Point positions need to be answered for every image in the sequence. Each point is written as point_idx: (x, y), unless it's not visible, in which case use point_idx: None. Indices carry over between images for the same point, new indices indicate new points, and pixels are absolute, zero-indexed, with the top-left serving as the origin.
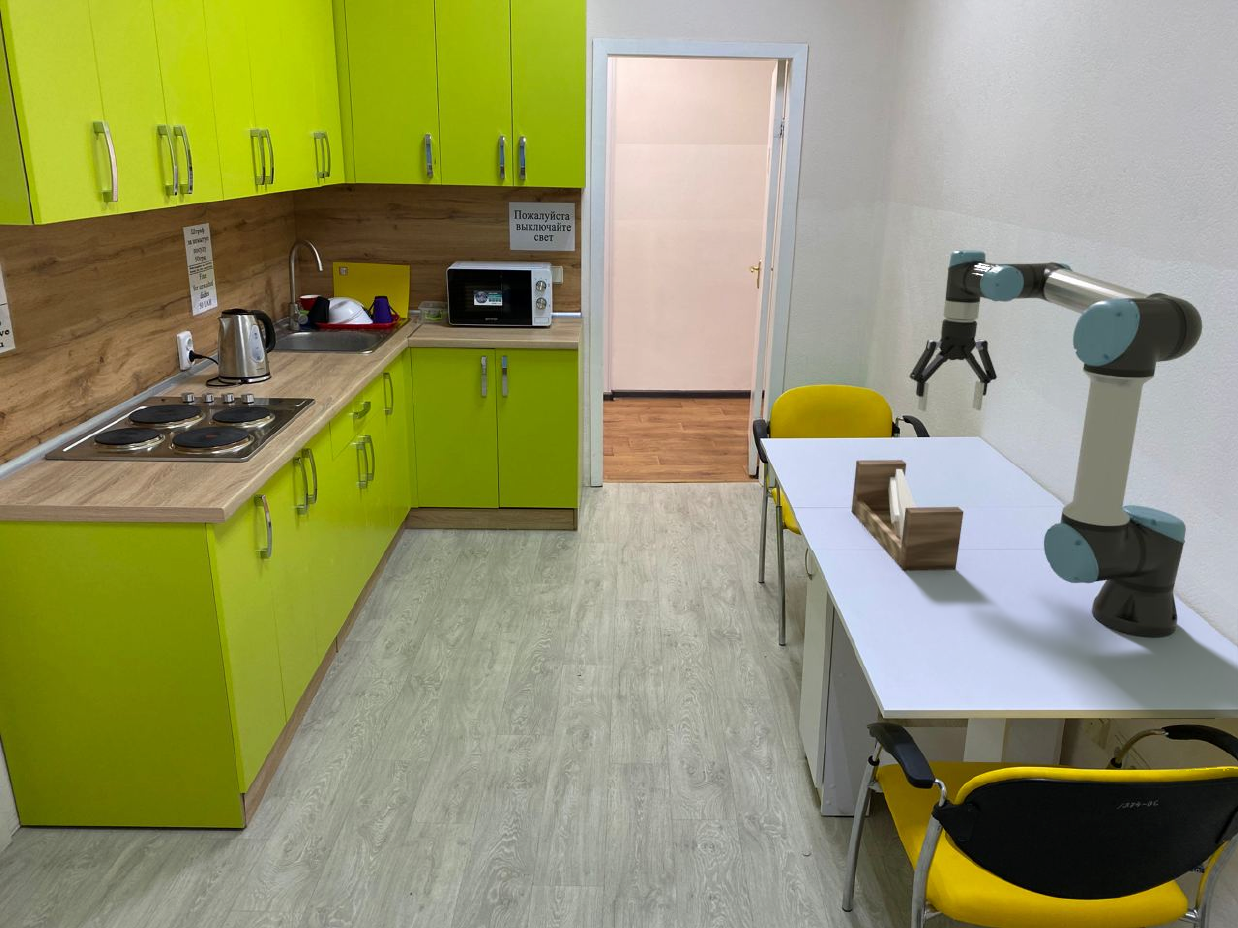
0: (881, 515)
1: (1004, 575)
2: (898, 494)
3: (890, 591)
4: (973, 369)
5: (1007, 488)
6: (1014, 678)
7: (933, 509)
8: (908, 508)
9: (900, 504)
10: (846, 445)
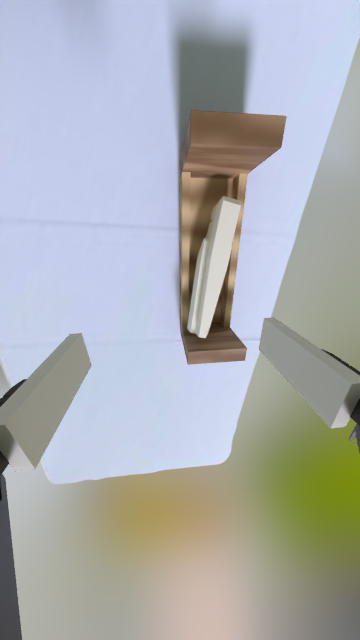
0: None
1: (124, 133)
2: (222, 277)
3: (284, 91)
4: (7, 581)
5: None
6: None
7: (240, 130)
8: (278, 142)
9: (230, 248)
10: (168, 460)
